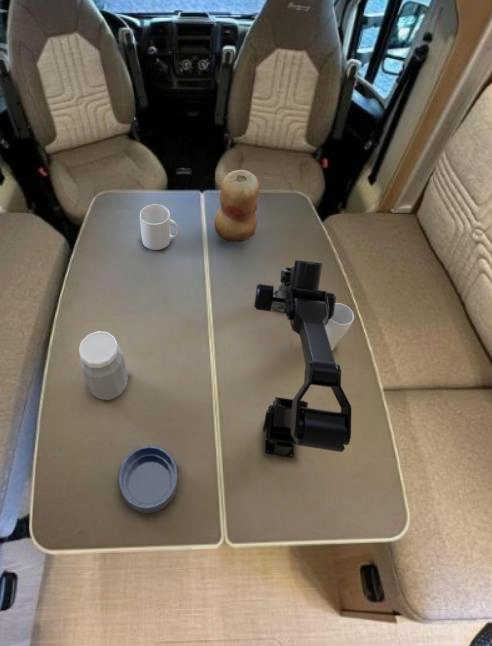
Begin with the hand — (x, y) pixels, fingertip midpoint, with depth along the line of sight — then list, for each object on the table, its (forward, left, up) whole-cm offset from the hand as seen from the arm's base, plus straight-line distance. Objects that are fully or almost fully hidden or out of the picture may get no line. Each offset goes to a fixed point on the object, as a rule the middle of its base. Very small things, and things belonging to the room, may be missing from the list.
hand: (289, 296), depth 108 cm
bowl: (-46, +28, -12) cm, 56 cm away
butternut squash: (+33, +16, -13) cm, 38 cm away
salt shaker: (+7, 0, -13) cm, 14 cm away
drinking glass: (-5, -12, -13) cm, 18 cm away
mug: (+27, +40, -13) cm, 50 cm away
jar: (-25, +43, -13) cm, 51 cm away
